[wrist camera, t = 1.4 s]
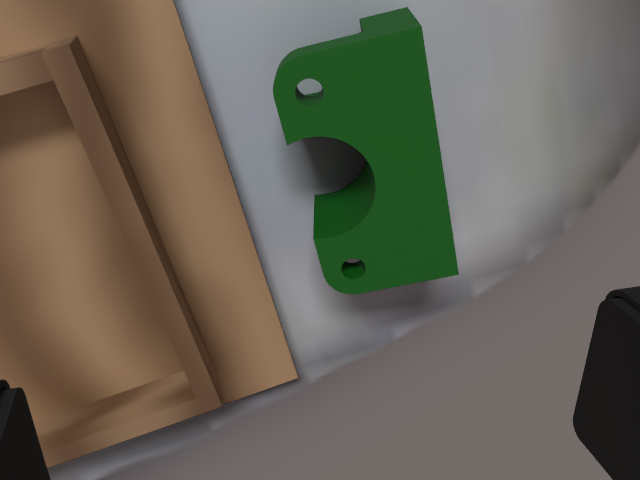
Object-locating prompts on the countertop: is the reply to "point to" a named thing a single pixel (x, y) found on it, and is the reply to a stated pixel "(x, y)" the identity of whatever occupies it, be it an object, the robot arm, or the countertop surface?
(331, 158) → the countertop surface
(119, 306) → the brown shallow square tray
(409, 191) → the clamp
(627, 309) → the robot arm
